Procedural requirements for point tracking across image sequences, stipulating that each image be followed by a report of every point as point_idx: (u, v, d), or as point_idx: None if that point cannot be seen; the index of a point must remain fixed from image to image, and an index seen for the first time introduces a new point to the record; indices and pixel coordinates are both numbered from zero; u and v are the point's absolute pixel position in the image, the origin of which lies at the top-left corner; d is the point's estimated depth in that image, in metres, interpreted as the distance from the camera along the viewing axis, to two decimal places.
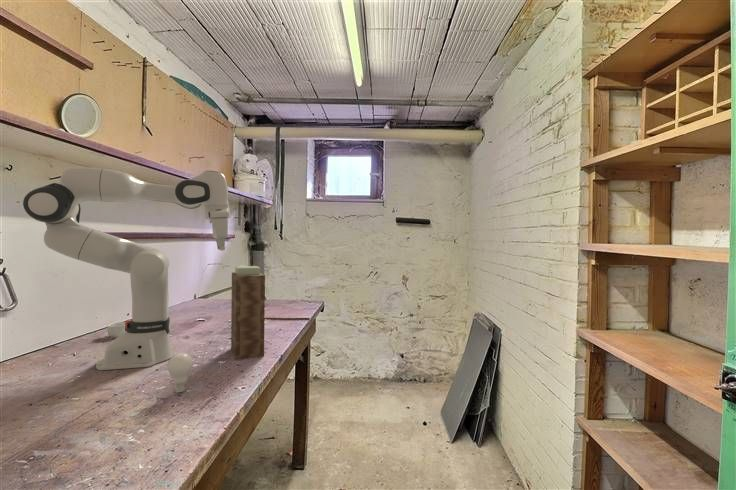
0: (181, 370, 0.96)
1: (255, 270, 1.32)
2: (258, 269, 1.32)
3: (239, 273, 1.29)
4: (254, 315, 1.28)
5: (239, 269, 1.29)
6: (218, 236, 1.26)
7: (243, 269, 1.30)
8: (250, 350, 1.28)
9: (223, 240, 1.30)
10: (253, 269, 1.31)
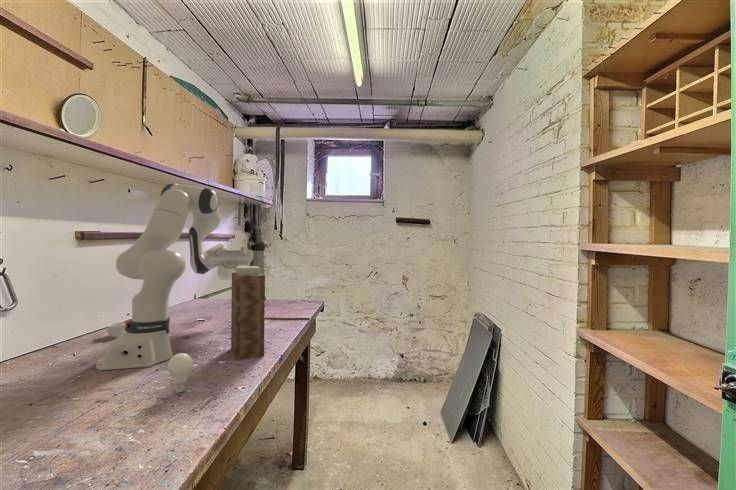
0: (181, 370, 0.96)
1: (255, 270, 1.32)
2: (258, 269, 1.32)
3: (239, 273, 1.29)
4: (254, 315, 1.28)
5: (239, 269, 1.29)
6: (252, 251, 1.66)
7: (243, 269, 1.30)
8: (250, 350, 1.28)
9: (245, 253, 1.62)
10: (253, 269, 1.31)
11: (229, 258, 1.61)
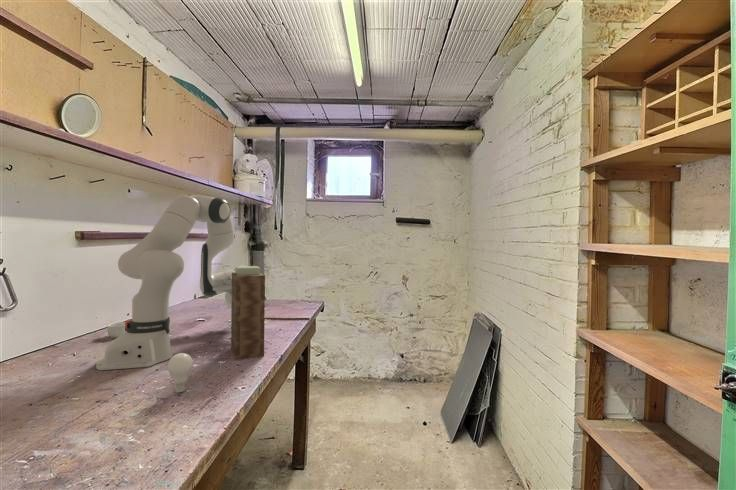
0: (181, 370, 0.96)
1: (255, 270, 1.32)
2: (258, 269, 1.32)
3: (239, 273, 1.29)
4: (254, 315, 1.28)
5: (239, 269, 1.29)
6: None
7: (243, 269, 1.30)
8: (250, 350, 1.28)
9: None
10: (253, 269, 1.31)
11: None
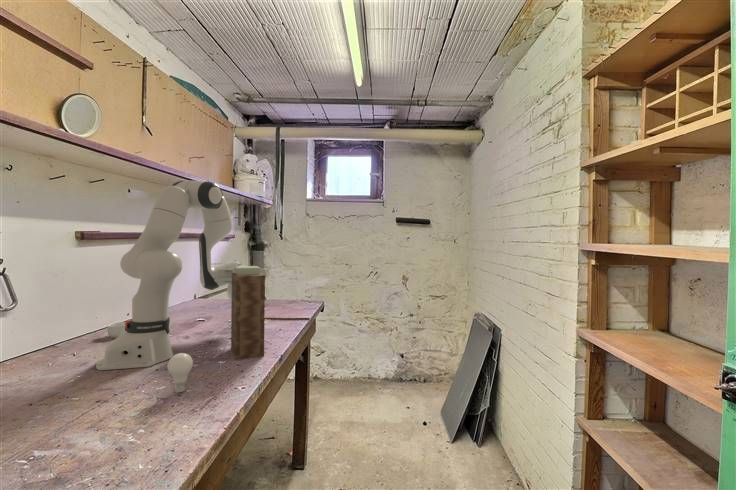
0: (181, 370, 0.96)
1: (255, 270, 1.32)
2: (258, 269, 1.32)
3: (239, 273, 1.29)
4: (254, 315, 1.28)
5: (239, 269, 1.29)
6: (265, 269, 1.52)
7: (243, 269, 1.30)
8: (250, 350, 1.28)
9: None
10: (253, 269, 1.31)
11: None
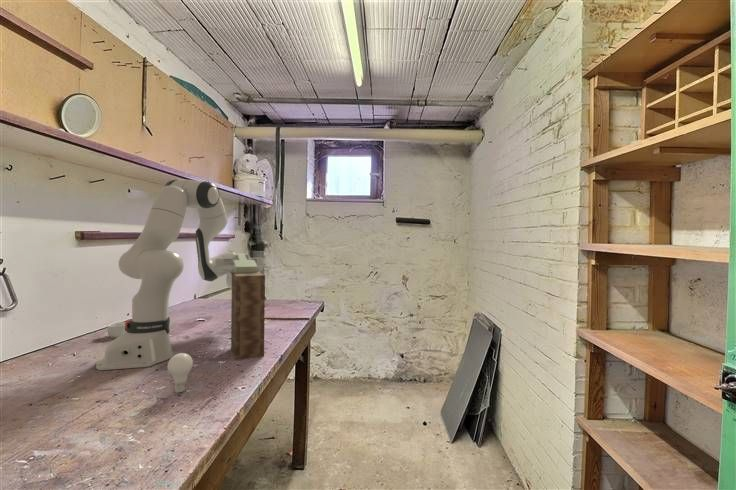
0: (181, 370, 0.96)
1: (252, 268, 1.38)
2: (255, 268, 1.38)
3: (237, 271, 1.36)
4: (254, 315, 1.28)
5: (237, 268, 1.35)
6: None
7: (241, 268, 1.36)
8: (250, 350, 1.28)
9: None
10: (250, 268, 1.38)
11: None
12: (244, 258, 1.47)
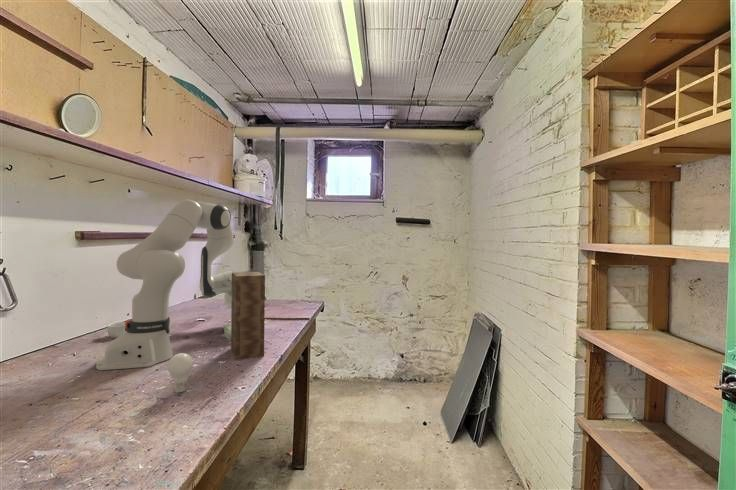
0: (181, 370, 0.96)
1: None
2: None
3: (230, 339, 1.49)
4: (254, 315, 1.28)
5: (230, 335, 1.49)
6: None
7: None
8: (250, 350, 1.28)
9: None
10: None
11: None
12: None
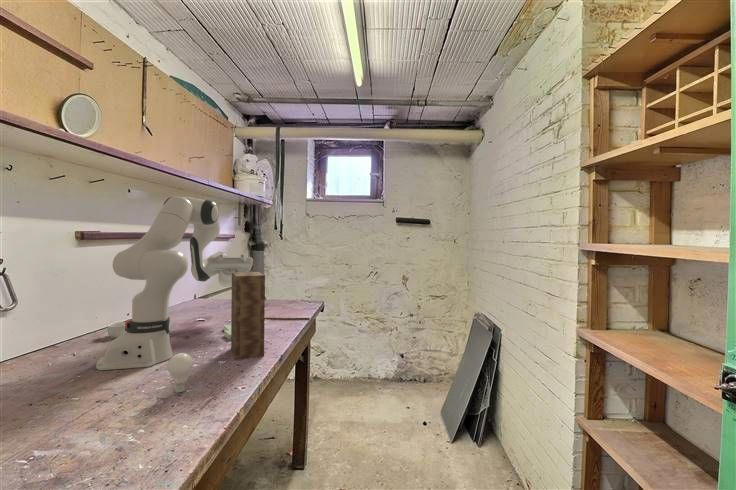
0: (181, 370, 0.96)
1: None
2: None
3: (230, 339, 1.49)
4: (254, 315, 1.28)
5: (230, 335, 1.49)
6: (252, 258, 1.71)
7: None
8: (250, 350, 1.28)
9: (245, 260, 1.68)
10: None
11: (229, 265, 1.66)
12: None
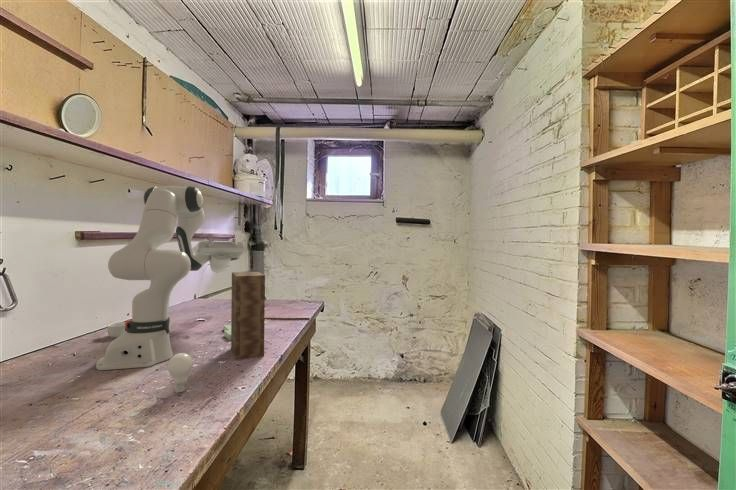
0: (181, 370, 0.96)
1: None
2: None
3: (230, 339, 1.49)
4: (254, 315, 1.28)
5: (230, 335, 1.49)
6: (243, 243, 1.70)
7: None
8: (250, 350, 1.28)
9: (237, 244, 1.66)
10: None
11: (221, 249, 1.65)
12: None
